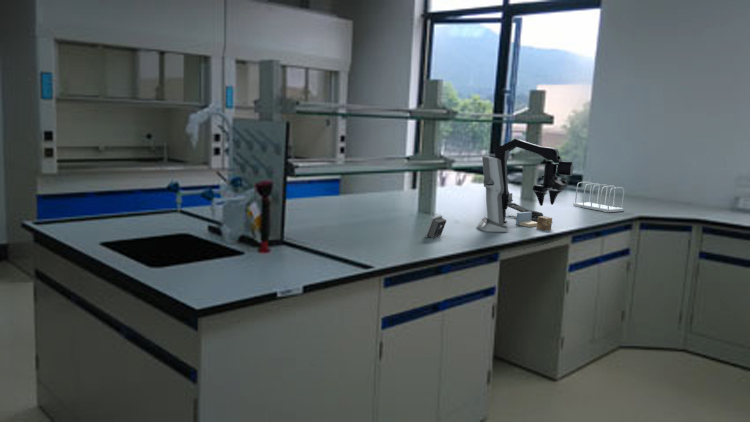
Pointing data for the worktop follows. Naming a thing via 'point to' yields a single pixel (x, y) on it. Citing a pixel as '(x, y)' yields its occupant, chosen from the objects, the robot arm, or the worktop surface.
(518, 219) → the blue and beige sponge
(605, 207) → the file sorter
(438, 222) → the electrical switch
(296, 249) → the worktop surface
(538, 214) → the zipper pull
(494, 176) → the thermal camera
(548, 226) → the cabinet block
